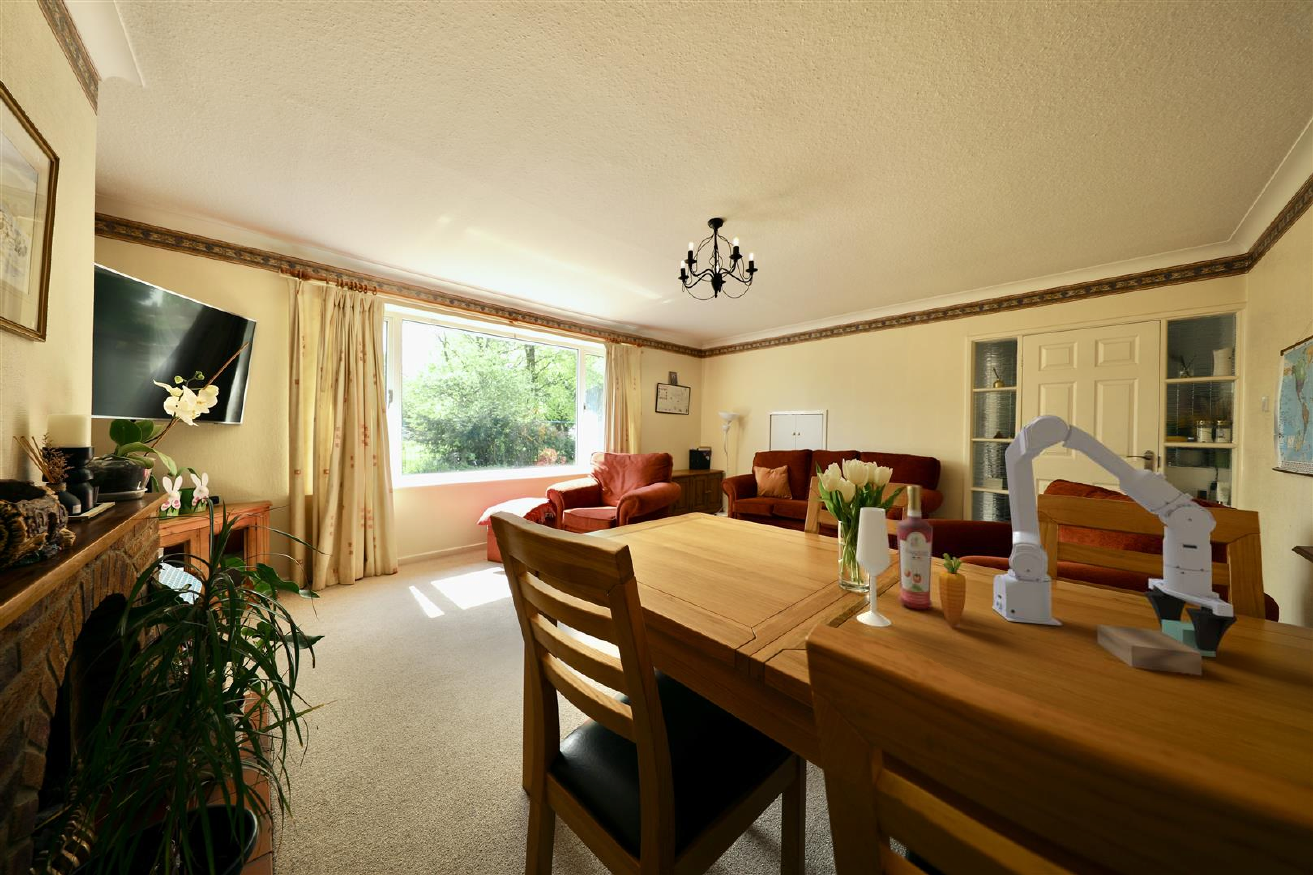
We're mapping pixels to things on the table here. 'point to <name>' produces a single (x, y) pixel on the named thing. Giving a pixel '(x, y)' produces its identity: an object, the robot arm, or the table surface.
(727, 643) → the table surface
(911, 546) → the liquor
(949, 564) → the carrot
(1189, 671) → the walnut base block
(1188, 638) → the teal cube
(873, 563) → the champagne flute
